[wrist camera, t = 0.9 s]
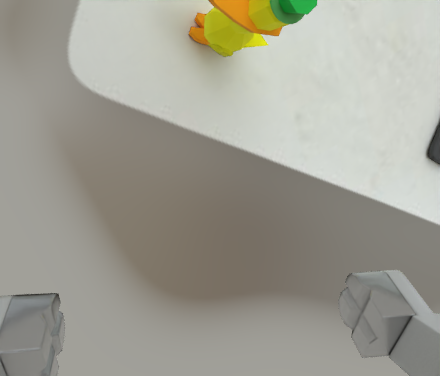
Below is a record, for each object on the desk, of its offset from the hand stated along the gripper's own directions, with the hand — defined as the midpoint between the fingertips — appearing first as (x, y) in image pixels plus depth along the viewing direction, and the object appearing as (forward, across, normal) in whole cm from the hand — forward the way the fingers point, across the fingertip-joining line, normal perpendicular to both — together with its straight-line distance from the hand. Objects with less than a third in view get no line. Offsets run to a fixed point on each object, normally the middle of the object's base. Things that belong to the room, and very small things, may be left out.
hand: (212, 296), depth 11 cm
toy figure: (+22, -2, -3) cm, 22 cm away
